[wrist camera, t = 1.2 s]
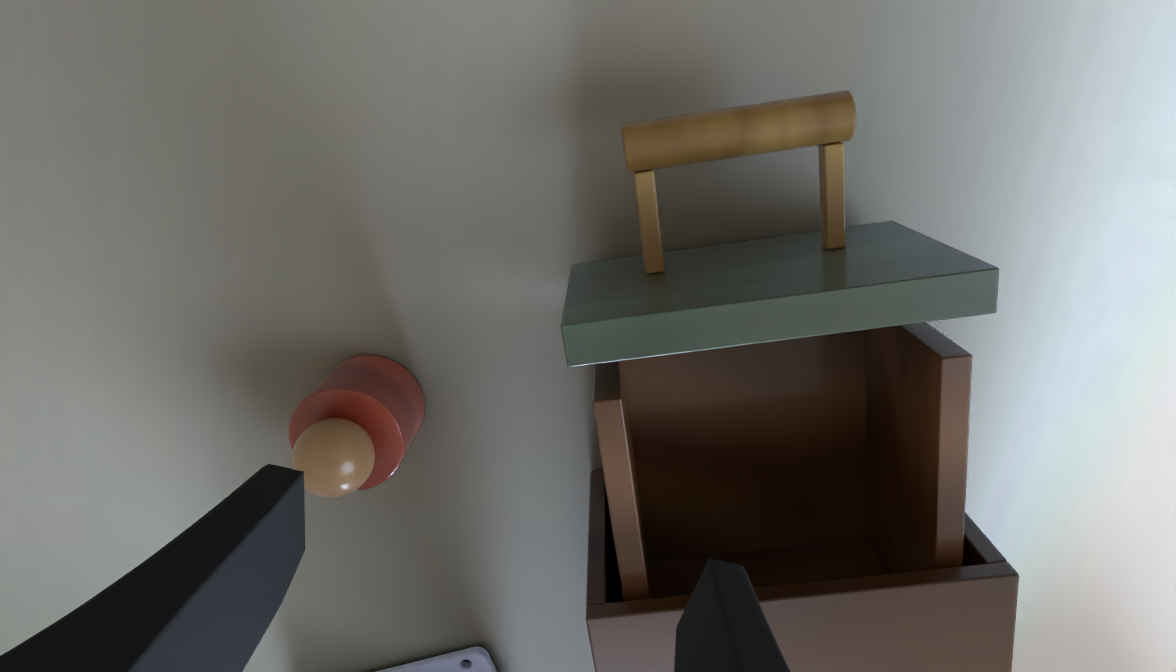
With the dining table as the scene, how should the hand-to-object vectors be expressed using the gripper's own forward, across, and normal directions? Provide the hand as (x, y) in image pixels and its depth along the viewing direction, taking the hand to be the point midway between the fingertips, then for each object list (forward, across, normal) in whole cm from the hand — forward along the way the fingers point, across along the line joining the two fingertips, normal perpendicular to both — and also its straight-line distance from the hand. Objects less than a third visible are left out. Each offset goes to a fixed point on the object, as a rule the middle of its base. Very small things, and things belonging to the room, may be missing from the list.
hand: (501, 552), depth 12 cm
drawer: (+13, -7, +3) cm, 15 cm away
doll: (+12, +6, +8) cm, 16 cm away
